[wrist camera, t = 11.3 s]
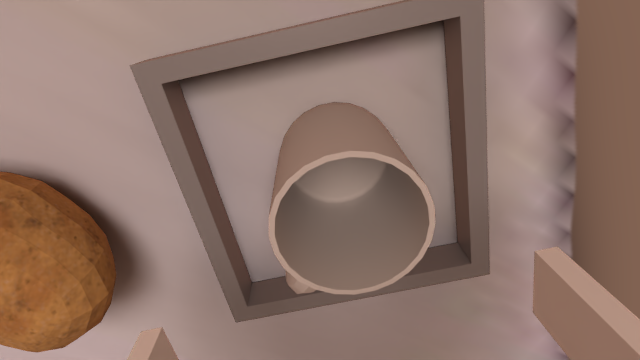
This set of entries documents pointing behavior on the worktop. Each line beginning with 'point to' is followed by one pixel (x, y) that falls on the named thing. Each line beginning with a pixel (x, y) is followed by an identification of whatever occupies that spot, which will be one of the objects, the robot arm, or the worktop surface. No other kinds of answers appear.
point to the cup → (346, 204)
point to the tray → (417, 9)
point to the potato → (49, 267)
